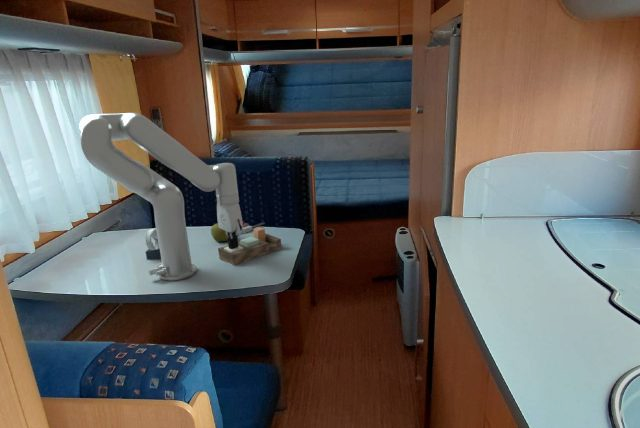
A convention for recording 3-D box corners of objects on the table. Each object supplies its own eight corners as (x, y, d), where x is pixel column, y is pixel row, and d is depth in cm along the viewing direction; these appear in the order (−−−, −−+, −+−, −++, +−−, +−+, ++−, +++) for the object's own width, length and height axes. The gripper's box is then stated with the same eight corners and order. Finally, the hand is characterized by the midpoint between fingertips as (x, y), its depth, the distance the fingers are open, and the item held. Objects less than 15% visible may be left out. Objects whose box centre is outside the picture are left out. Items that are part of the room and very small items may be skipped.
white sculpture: (168, 253, 181) (163, 225, 177) (158, 261, 173) (153, 233, 170) (154, 253, 181) (149, 226, 178) (144, 261, 174) (139, 233, 170)
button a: (232, 259, 167) (231, 251, 166) (224, 255, 170) (223, 248, 170) (244, 255, 170) (243, 247, 169) (236, 251, 174) (235, 244, 173)
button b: (248, 250, 171) (247, 243, 170) (240, 247, 175) (240, 240, 174) (259, 247, 174) (258, 239, 173) (252, 243, 178) (251, 236, 177)
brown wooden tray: (233, 265, 165) (232, 255, 164) (219, 258, 172) (218, 248, 171) (281, 248, 178) (280, 239, 177) (266, 242, 185) (265, 233, 184)
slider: (258, 243, 179) (257, 231, 178) (254, 241, 181) (253, 229, 180) (265, 241, 181) (264, 228, 180) (261, 239, 183) (260, 227, 182)
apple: (213, 238, 194) (211, 222, 192) (233, 237, 194) (231, 220, 192) (211, 245, 186) (209, 228, 184) (231, 243, 187) (229, 226, 185)
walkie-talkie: (229, 239, 192) (266, 226, 206) (228, 229, 191) (265, 216, 205) (217, 235, 198) (253, 223, 212) (215, 225, 197) (252, 213, 211)
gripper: (207, 197, 167) (214, 245, 173) (229, 204, 156) (235, 255, 162) (226, 193, 172) (231, 240, 177) (248, 199, 161) (253, 249, 166)
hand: (233, 247), depth 169 cm, fingers closed
